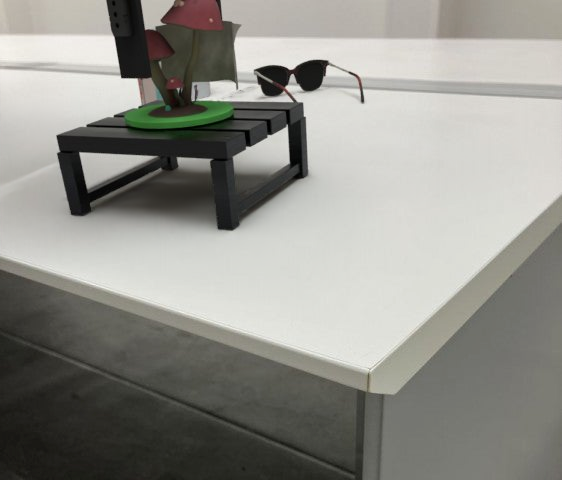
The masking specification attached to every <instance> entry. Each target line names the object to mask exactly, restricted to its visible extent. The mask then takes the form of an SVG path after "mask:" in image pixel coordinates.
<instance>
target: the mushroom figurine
mask: <svg viewBox="0 0 562 480" xmlns="http://www.w3.org/2000/svg"><path fill="white" fill-rule="evenodd" d="M160 23H161V24H160V25H156V26H154V27H155V29H156V31H155V30H152V28H151V29H149V28H147V29H145V32H146V39H147V46H148V53H149V59H150V66H151V73H152V77H151V79H152V81H153V83H154V84H155V86H156V87H157V89H158V90H159V92H160V94H161V96H162V98H163V101H164V103H163V104H157V105H151V106H147V107H142V108H139V109H136V110H133V111H130V112H128V113H127V114H126V115H125V123H126V124H127V125H129V126H132V127H137V128H147V129H168V128H182V127H191V126H198V125H203V124H209V123H213V122H217V121H220V120H223V119H226V118H228V117H230V116H232V115H233V113H234V108H233V105H232V104H229V103H226V102H220V101H221V100H212V101H211V100H198V99H197V96H198V90H197V85H196V86H195V85H194V88H195V87H196V89H195V100H191V95H192V82H210V83H212V82H220V81H231V82H233V83H234V84H235V90H236V91H238V90H239V82H238V81H239V80H238V79H239V78H238V70H237V69H238V68H237V67H238V66H237V58H236V50H235V42H236V37H237V34H238V31H239V30H240V28H241V26H242V24H240V23H234V22H233V21H231V20H223V19H222V20H221V16H220V11H219V7H218V5H217V2H216V0H174V1H173V4H172V6H171V7H170V8H169V9H168V10H167V11H166V13H165V14H164V15H163V16H162V17H161V18H160ZM158 59H161V67H160V64H159V62H158ZM177 88H180V89H179V94H178V90H177ZM181 90H182V92H181Z"/></svg>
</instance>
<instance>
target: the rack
mask: <svg viewBox="0 0 562 480" xmlns="http://www.w3.org/2000/svg"><path fill="white" fill-rule="evenodd" d="M219 101H220V102H226V103H229V104H232V105H233V108H234V113H233V115H232V116H230V117H228V118H226V119H223V120H220V121H217V122H213V123H209V124H203V125H198V126H191V127H182V128H168V129H147V128H137V127H132V126H129V125H127V124H126V123H125V115H126V114H127V113H128V112H130V111H133V110H136V109H139V108H142V107H147V106H151V105H157V104H163V103H164V101H163V100H155V101H153V102H150V103H147V104H144V105H142V104H141V105H138V107H133V108H130V109H127V110H124V111H121V112H119V113H116V114H113V116H107V117H103V118H101V119H98V120H95V121H93V122H90V123H87V124H85V126H78V127H76V128H73V129H70V130H67V131H64V132H61V133H58V134H56V135H55V138H56V141H57V146H58V150H59V151H58V152H56V156H57V160H58V165H59V169H60V174H61V178H62V182H63V187H64V190H65V194H66V199H67V204H68V209H69V212H70V215H72V216H80V217H81V216H82V217H83V216H85V215H87V214H89V213H91V212H92V205H91V203H93V202H95V201H98V200H100V199H101V198H104V197H106V196H107V195H109V194H111V193H114V192H116V191H118V190H120V189H122V188H124V187H126V186H127V185H130V184H132V183H133V182H136V181H138V180H140V179H142V178H144V177H146V176H148V175H150V174H152V173H154V172H156V171H158V170H162V171H174V170H175V169H178V168H179V161H178V158H181V159H182V158H184V159H202V160H203V159H204V160H209V164H210V166H209V167H210V174H211V183H212V191H213V200H214V209H215V217H216V226H217V229H218V230H229V231H233V230H234V229H236V228H237V227H239V226H240V215H241V214H242V213H244V212H245V211H247V210H248V209H249V208H251V207H252V206H254V205H256V204H257V203H258V202H259V201H261V200H262V199H264V198H265V197H267V196H268V195H270V194H271V193H272V192H274V191H275V190H276V189H278V188H279V187H280V186H282V185H283V184H285V183H286V182H288V181H289V180H290V179H293V178H296V179H304V178H305V177H307V176H308V175H309V161H308V160H309V159H308V141H307V140H308V138H307V137H308V136H307V116H305V110H304V109H305V107H304V102H302V101H297V102H293V101H241V100H240V101H235V100H234V101H233V100H219ZM286 128H287V135H288V136H287V137H288V138H287V140H288V156H289V157H288V159H289V163H288V164H286V165H285V166H282V168H280V169H279V170H277V171H275V172H274V173H273V174H271V175H269V176H268V177H267V178H265V179H263V180H262V181H261V182H259V183H258V184H256V185H255V186H253V187H251V188H250V189H249V190H247V191H245V192H244V193H242V194H241V195H239V196H238V195H237V194H238V193H237V183H236V173H235V164H234V162H235V161H234V157H236V156H237V155H240V153H243V152H245V151H246V150H247V148H252V147H254V146H255V145H257V144H259V143H261V142H262V141H264V140H266V139H268V137H269V136H273V135H275V134H277V133H278V132H280V131H282V130H284V129H286ZM80 153H84V154H103V155H123V156H143V157H154V158H151V159H150V160H148V161H145V162H144V163H141V164H140V165H137V166H135V167H133V168H131V169H129V170H126V171H124V172H122V173H120V174H118V175H115V176H114V177H111V178H110V179H109V178H108V179H107V180H105V181H103V182H101V183H99V184H97V185H94V186H92V187H90V188H88V187H87V182H86V177H85V173H84V169H83V163H82V158H81V154H80Z"/></svg>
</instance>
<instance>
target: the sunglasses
mask: <svg viewBox="0 0 562 480" xmlns="http://www.w3.org/2000/svg"><path fill="white" fill-rule="evenodd" d="M328 66H330V67H333V68H336V69H337V70H340V71H342V72H345V73H346V74H349V75H351V76H353V77H354V78H356V80H357V82H358V86H359V92H360V103H361V104H363V103H364V102H365V95H364V90H363V83H362V80H361V77H360V76H359V75H358V74H357V73H355V72H352V71H350V70H347V69H345V68H343V67H341V66H338V65H336V64H334V63H333V62H330V61H329V60H327V59H309V60H306V61H304V62H301V63H299V64H297V65H296V66H295V67H294V68H293V69H290V68H288V67H287V66H284V65H279V64H268V65H264V66H260V67H257V68H255V69H253V75H255V76H256V80H257V85H258V86H260V90H261V92H262V94H263V95H264V96H266V97H271V98H274V97H279V96H281V95H282V94H283V93H285V94H286V95H287V97H289V98H290V100H291V102H298V100H297V99H296V98H295V97H294V96H293V95H292V93H290V91H289V90H288V89H287V88H286V87H287V86H289V83H290V79H291V76H292V75H293V76H294V79H295V82H296V84H297V85H298V86H299V87H300V89H301V90H302V91H303V92H306V93H310V92H314V91H317V90H319V89H320V88H321V87H322V85H323V82H324V77H326V76H327V68H328Z"/></svg>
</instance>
